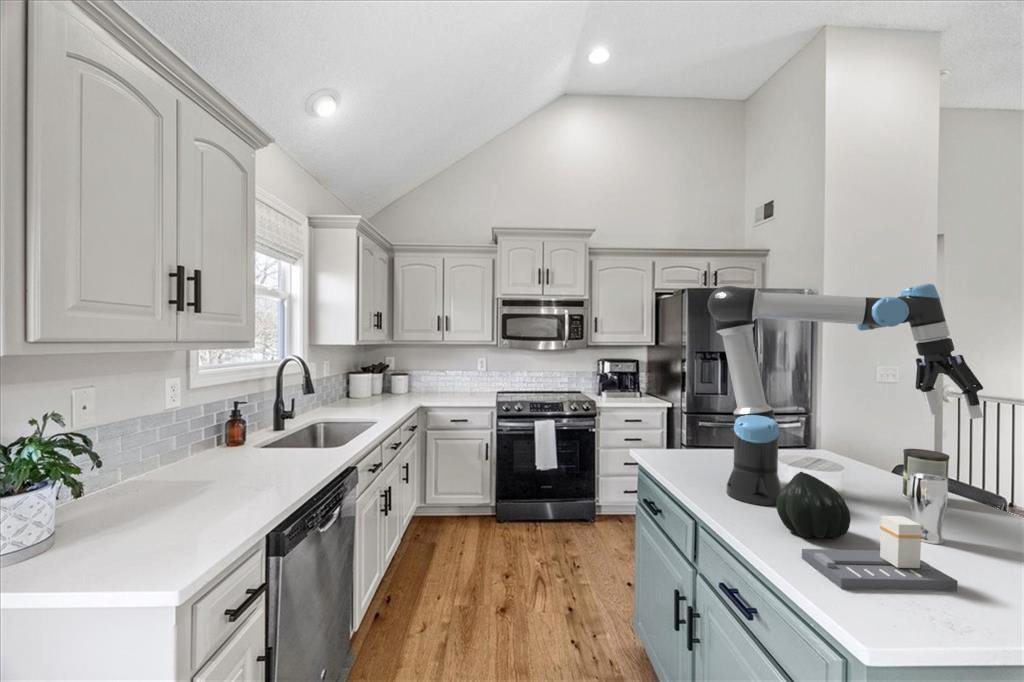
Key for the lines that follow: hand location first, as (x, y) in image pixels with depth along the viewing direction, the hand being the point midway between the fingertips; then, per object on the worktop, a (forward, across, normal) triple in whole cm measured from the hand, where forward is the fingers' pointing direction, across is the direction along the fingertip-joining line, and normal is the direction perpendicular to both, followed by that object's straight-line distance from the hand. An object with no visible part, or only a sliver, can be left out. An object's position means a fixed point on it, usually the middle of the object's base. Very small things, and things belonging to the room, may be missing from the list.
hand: (955, 416), depth 125 cm
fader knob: (+19, -36, +41) cm, 58 cm away
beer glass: (+24, -16, +24) cm, 37 cm away
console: (+21, -36, +47) cm, 63 cm away
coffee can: (+26, +16, +4) cm, 31 cm away
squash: (+18, -18, +50) cm, 56 cm away
